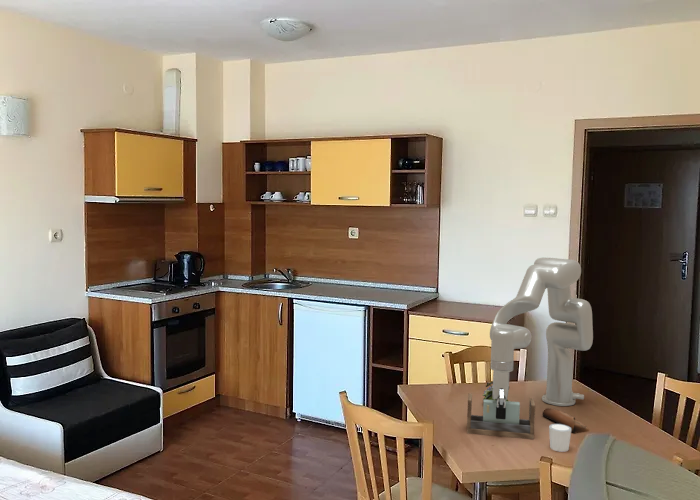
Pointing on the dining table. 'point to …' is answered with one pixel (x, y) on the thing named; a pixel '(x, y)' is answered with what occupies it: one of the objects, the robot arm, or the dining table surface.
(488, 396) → the passion flower
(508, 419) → the pale green box
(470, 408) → the wooden book rack
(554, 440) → the white cup
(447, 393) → the dining table surface
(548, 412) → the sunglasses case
